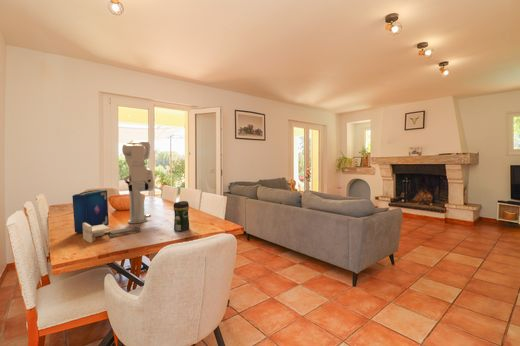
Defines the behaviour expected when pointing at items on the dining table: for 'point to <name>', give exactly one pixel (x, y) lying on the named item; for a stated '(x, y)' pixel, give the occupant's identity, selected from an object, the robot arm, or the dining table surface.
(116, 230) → the slate gray sliding drawer
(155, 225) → the dining table surface
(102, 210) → the book
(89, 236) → the shelf
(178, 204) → the coffee jar
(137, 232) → the guide rails
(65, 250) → the dining table surface
